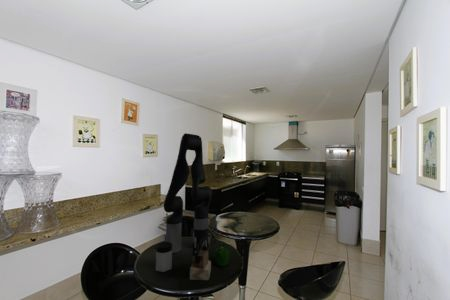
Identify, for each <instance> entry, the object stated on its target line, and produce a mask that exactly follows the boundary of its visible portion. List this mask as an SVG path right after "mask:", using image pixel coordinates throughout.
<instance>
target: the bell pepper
mask: <svg viewBox="0 0 450 300" xmlns="http://www.w3.org/2000/svg"><path fill="white" fill-rule="evenodd" d="M230 253H231V251H230V249H228V248H227V247H225V246H224V247H223V246H221V247H216V248H215V250H214V260H215V264H217V265H218V266H220V267H226V266H227V264H228V263H229V261H230V257H231V256H230V255H231V254H230Z"/></svg>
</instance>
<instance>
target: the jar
mask: <svg viewBox="0 0 450 300" xmlns="http://www.w3.org/2000/svg"><path fill="white" fill-rule="evenodd" d="M172 260H173V253H172V243H170V242H165V241H162V242H158V243H157V244H156V248H155V271H157V272H161V273H164V272H167V271H170V270H172V266H173V265H172V264H173V262H172Z"/></svg>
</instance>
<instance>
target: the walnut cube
mask: <svg viewBox="0 0 450 300" xmlns="http://www.w3.org/2000/svg"><path fill="white" fill-rule="evenodd" d="M198 253H199V252H198ZM191 255H192V260H191V261H192V262H191V266H192V267H195V268H201V269H204V268H205V267H206V265H207V264H208V261H209V250H206V251H204V250H202V251H201V252H200V263H199V264H197V263H195V256H193V254H191Z"/></svg>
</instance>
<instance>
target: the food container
mask: <svg viewBox="0 0 450 300" xmlns="http://www.w3.org/2000/svg"><path fill="white" fill-rule="evenodd" d="M192 237H193V243H196V238H195V237H194V232H193V233H192ZM211 238H212V232H210V231H209V235H208V245H207V248H206V251H210V247H211ZM206 242H207V241H206ZM199 249H200V248H199Z"/></svg>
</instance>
